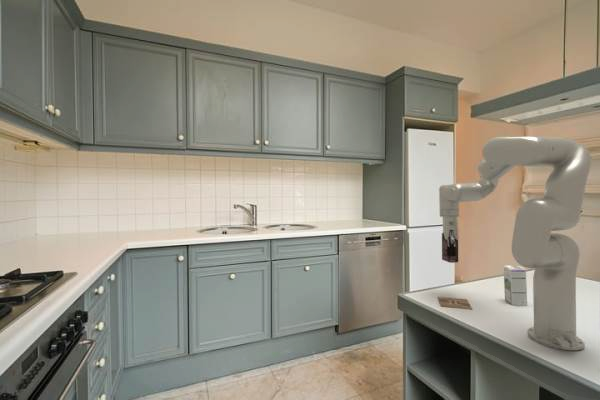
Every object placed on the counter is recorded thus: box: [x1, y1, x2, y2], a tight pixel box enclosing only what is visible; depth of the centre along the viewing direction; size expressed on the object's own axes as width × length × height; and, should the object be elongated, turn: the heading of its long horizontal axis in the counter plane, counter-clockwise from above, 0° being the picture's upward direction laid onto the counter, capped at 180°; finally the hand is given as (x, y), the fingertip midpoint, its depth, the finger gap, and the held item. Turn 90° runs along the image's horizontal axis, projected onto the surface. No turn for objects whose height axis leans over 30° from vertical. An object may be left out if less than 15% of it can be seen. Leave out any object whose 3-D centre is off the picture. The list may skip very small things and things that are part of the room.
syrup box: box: [503, 264, 528, 306], centre depth 116 cm, size 6×6×14 cm
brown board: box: [437, 296, 473, 310], centre depth 117 cm, size 11×11×1 cm
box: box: [441, 232, 459, 264], centre depth 126 cm, size 6×4×12 cm
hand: (450, 254), depth 126 cm, fingers closed on box, 6 cm apart
